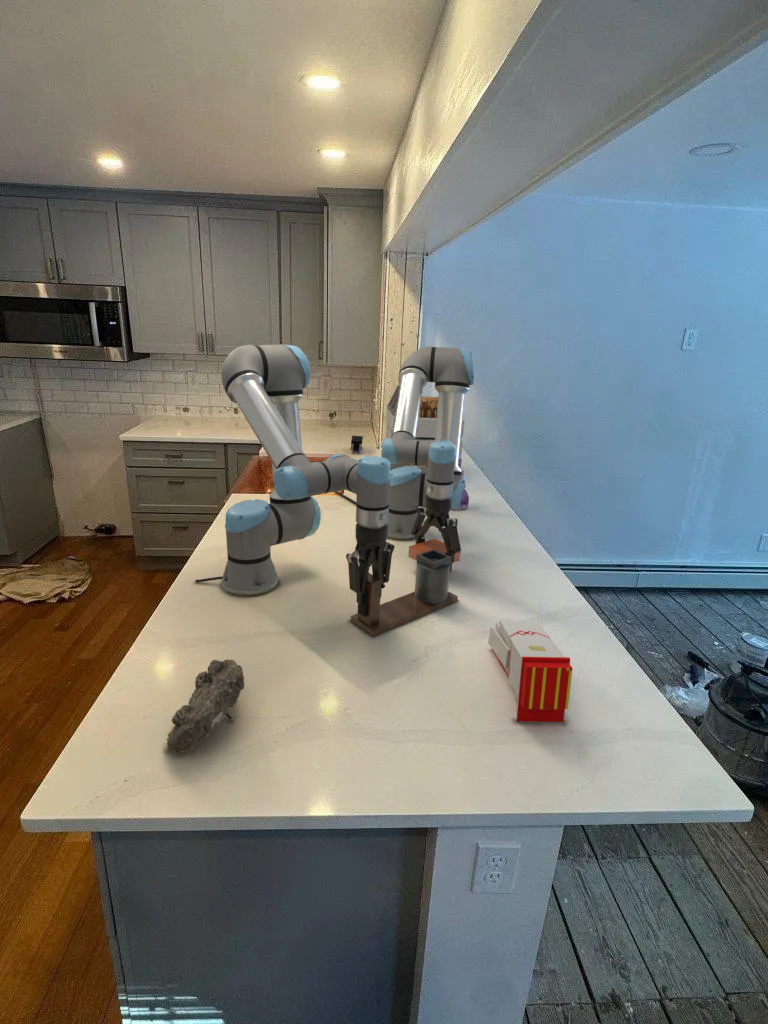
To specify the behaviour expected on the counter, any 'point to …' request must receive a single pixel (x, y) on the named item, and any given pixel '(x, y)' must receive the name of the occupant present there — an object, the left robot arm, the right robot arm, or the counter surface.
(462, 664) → the counter surface
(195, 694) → the fossil
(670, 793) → the counter surface
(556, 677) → the toy
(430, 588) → the caddy
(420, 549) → the orange square block
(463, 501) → the figurine
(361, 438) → the figurine character
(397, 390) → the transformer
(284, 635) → the counter surface
